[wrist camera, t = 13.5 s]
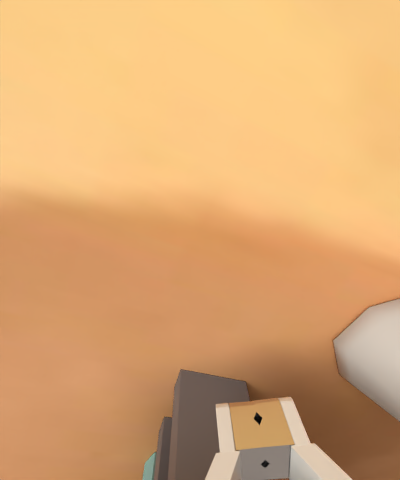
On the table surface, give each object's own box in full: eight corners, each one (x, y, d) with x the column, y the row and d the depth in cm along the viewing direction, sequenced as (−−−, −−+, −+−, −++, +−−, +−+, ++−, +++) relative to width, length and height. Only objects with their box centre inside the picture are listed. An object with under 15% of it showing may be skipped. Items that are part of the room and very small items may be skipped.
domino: (237, 398, 17) (275, 603, 9) (174, 387, 16) (159, 594, 9) (245, 381, 16) (292, 583, 9) (180, 369, 16) (170, 574, 8)
